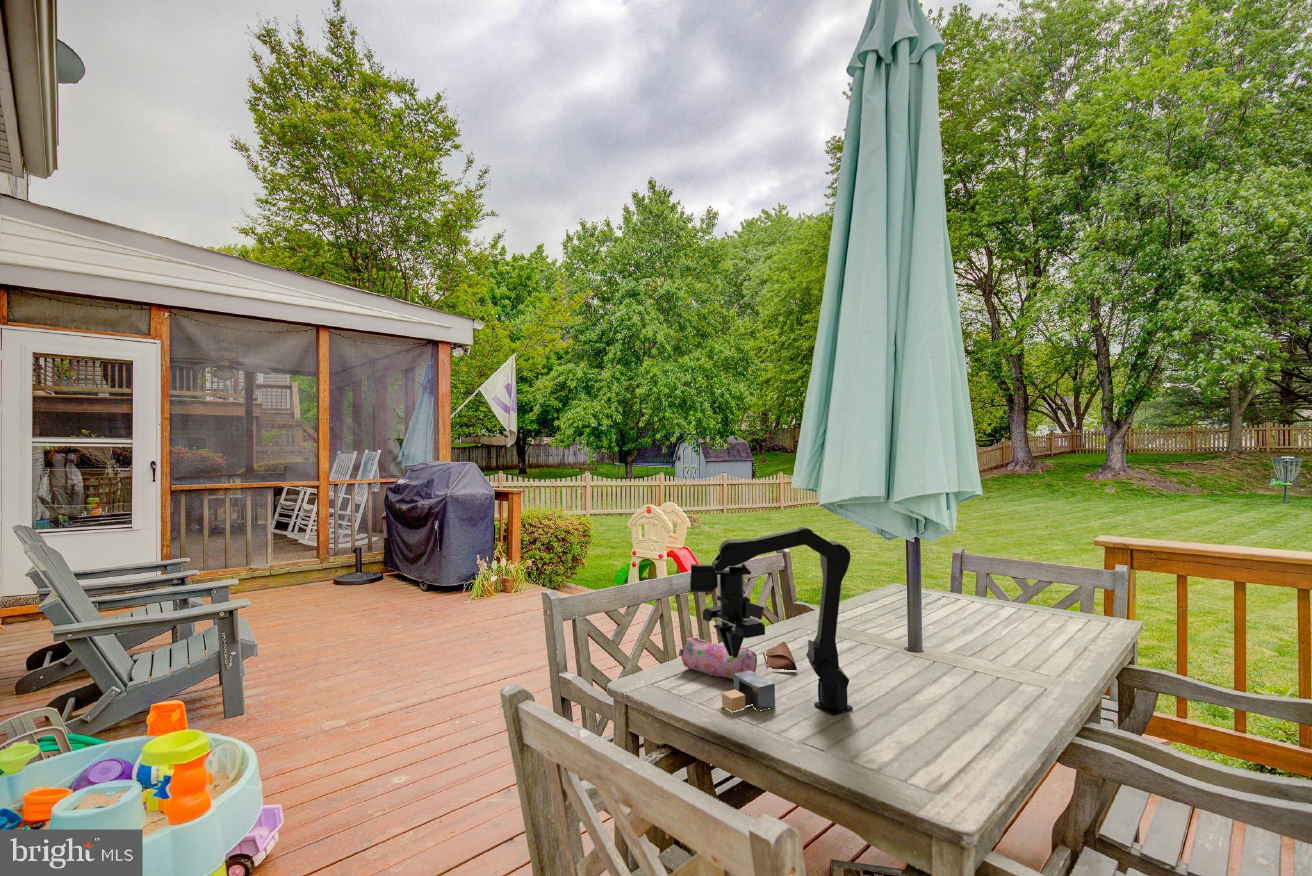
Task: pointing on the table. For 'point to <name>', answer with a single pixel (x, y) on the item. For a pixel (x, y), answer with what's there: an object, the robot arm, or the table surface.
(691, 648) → the pencil case
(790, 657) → the sunglasses case
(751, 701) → the plug
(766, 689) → the grey arch block
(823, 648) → the robot arm
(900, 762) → the table surface
